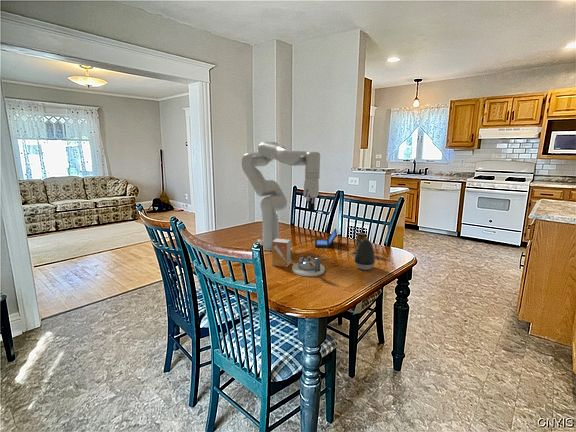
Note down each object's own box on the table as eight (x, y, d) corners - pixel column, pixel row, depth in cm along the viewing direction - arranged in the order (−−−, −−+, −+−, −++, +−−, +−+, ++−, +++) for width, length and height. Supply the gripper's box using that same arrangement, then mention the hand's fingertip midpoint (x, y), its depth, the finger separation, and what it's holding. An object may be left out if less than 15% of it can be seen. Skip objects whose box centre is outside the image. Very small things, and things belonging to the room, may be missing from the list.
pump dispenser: (361, 263, 167) (363, 235, 164) (378, 268, 159) (380, 239, 156) (349, 267, 161) (350, 238, 157) (366, 273, 153) (368, 243, 150)
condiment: (369, 254, 181) (370, 234, 179) (358, 257, 177) (360, 236, 174) (360, 251, 187) (361, 231, 185) (349, 253, 183) (350, 233, 180)
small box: (272, 265, 162) (272, 241, 160) (276, 261, 168) (276, 238, 166) (287, 267, 160) (287, 242, 157) (290, 263, 166) (291, 239, 163)
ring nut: (295, 264, 159) (295, 250, 157) (313, 262, 163) (313, 247, 161) (308, 276, 144) (309, 260, 143) (328, 273, 148) (328, 257, 146)
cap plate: (287, 273, 152) (287, 270, 152) (298, 262, 167) (298, 260, 166) (319, 278, 146) (319, 275, 146) (328, 267, 161) (328, 264, 160)
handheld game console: (315, 241, 209) (315, 227, 207) (335, 241, 207) (336, 228, 206) (314, 248, 194) (315, 233, 192) (336, 248, 192) (337, 234, 190)
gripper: (311, 174, 174) (310, 207, 177) (299, 176, 161) (298, 211, 164) (324, 175, 170) (323, 208, 174) (312, 177, 157) (311, 213, 161)
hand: (311, 210), depth 169 cm, fingers closed
